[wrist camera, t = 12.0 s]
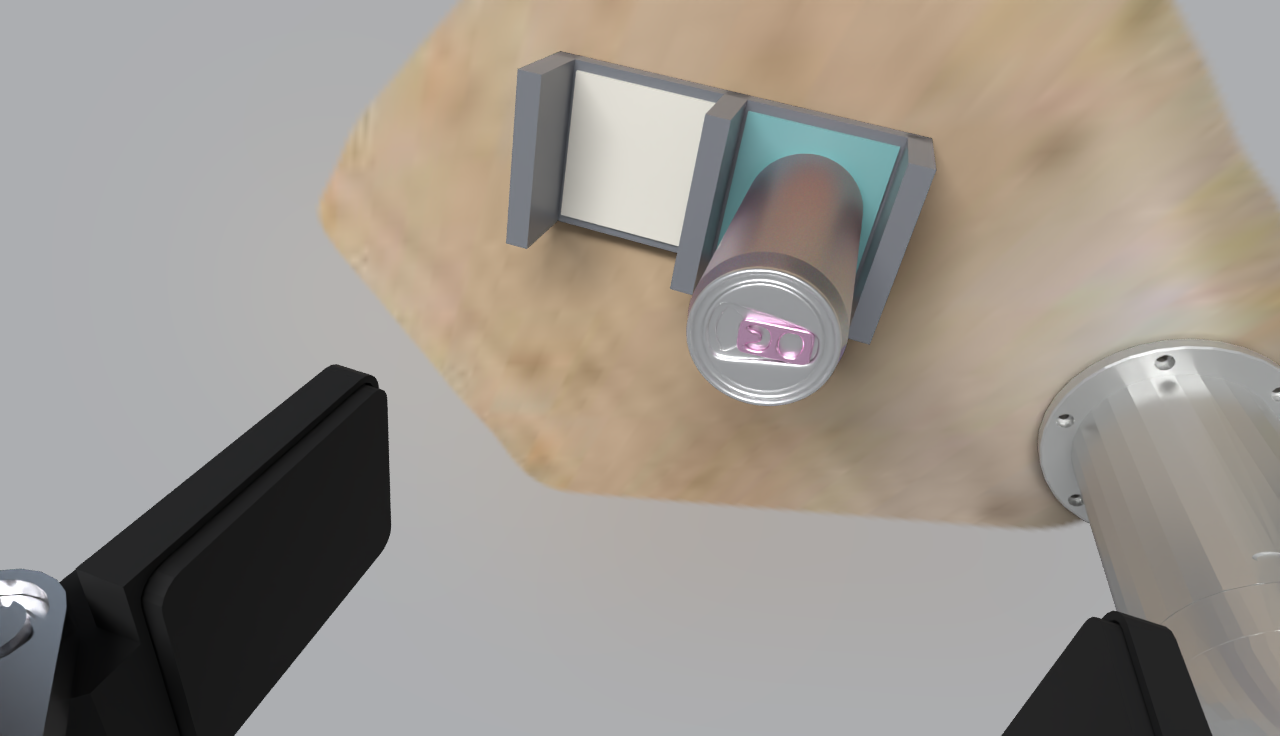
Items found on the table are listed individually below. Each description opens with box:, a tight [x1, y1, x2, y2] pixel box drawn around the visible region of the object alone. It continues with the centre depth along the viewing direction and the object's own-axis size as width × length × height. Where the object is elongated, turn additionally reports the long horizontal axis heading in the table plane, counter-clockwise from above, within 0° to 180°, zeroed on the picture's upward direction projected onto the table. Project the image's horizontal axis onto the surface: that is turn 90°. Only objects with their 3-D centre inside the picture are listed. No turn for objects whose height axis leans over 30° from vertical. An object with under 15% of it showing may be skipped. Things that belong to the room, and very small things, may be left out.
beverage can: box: [686, 154, 863, 406], centre depth 34 cm, size 6×6×15 cm
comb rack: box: [506, 51, 936, 344], centre depth 39 cm, size 20×9×6 cm, turn 81°
